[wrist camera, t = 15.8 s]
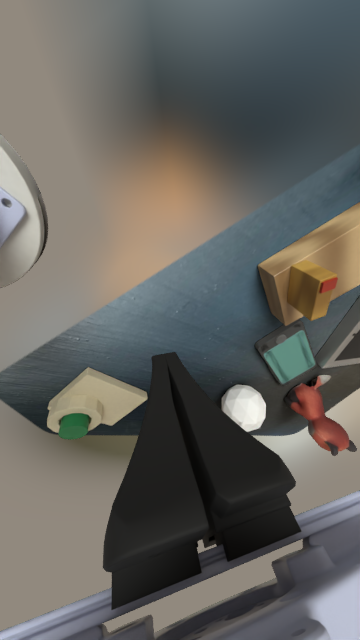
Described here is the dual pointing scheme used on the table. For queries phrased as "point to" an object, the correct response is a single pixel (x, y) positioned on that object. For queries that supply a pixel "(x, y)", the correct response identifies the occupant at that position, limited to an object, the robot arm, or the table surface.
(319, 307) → the thumb turn
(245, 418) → the ornament
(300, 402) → the stuffed fox
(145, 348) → the table surface
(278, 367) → the smartphone
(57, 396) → the box
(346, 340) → the picture frame
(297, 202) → the table surface
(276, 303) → the brown flat block
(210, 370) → the table surface
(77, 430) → the release button
